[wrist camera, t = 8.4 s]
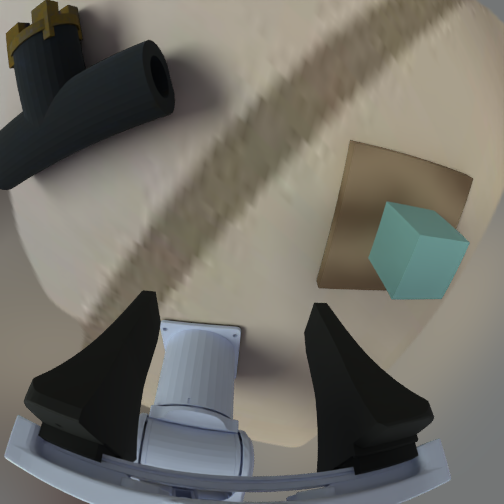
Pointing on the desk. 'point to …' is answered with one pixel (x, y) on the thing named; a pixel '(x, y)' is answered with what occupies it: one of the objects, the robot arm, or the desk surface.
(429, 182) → the base plate
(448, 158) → the desk surface
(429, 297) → the teal cube
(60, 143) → the pipe connector
